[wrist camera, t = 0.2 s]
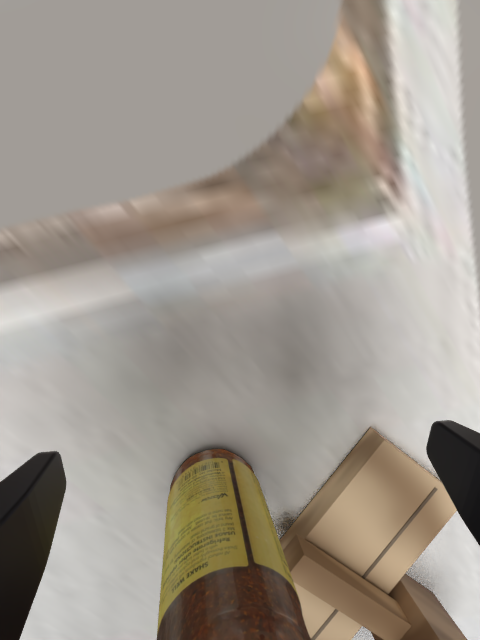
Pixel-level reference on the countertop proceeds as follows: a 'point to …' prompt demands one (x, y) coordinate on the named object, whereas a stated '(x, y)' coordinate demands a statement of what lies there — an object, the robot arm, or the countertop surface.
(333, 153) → the countertop surface
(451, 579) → the countertop surface
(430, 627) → the gauge
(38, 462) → the robot arm
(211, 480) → the sauce bottle
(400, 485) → the board
